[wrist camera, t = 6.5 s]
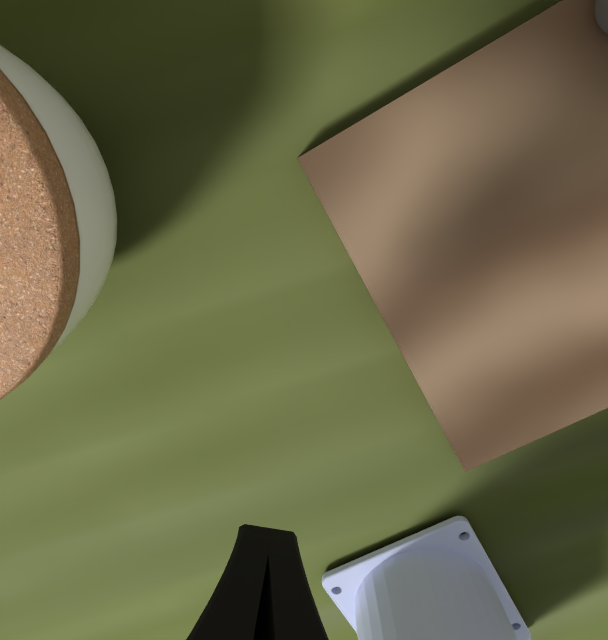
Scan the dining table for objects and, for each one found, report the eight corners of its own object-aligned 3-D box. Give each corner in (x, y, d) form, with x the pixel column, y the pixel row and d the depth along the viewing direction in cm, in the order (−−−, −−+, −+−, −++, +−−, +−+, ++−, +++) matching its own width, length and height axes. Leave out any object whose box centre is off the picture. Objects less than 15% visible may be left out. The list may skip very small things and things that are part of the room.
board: (789, 303, 20) (937, 349, 15) (456, 455, 22) (498, 534, 17) (704, -85, 15) (880, -187, 10) (297, 157, 17) (297, 159, 13)
